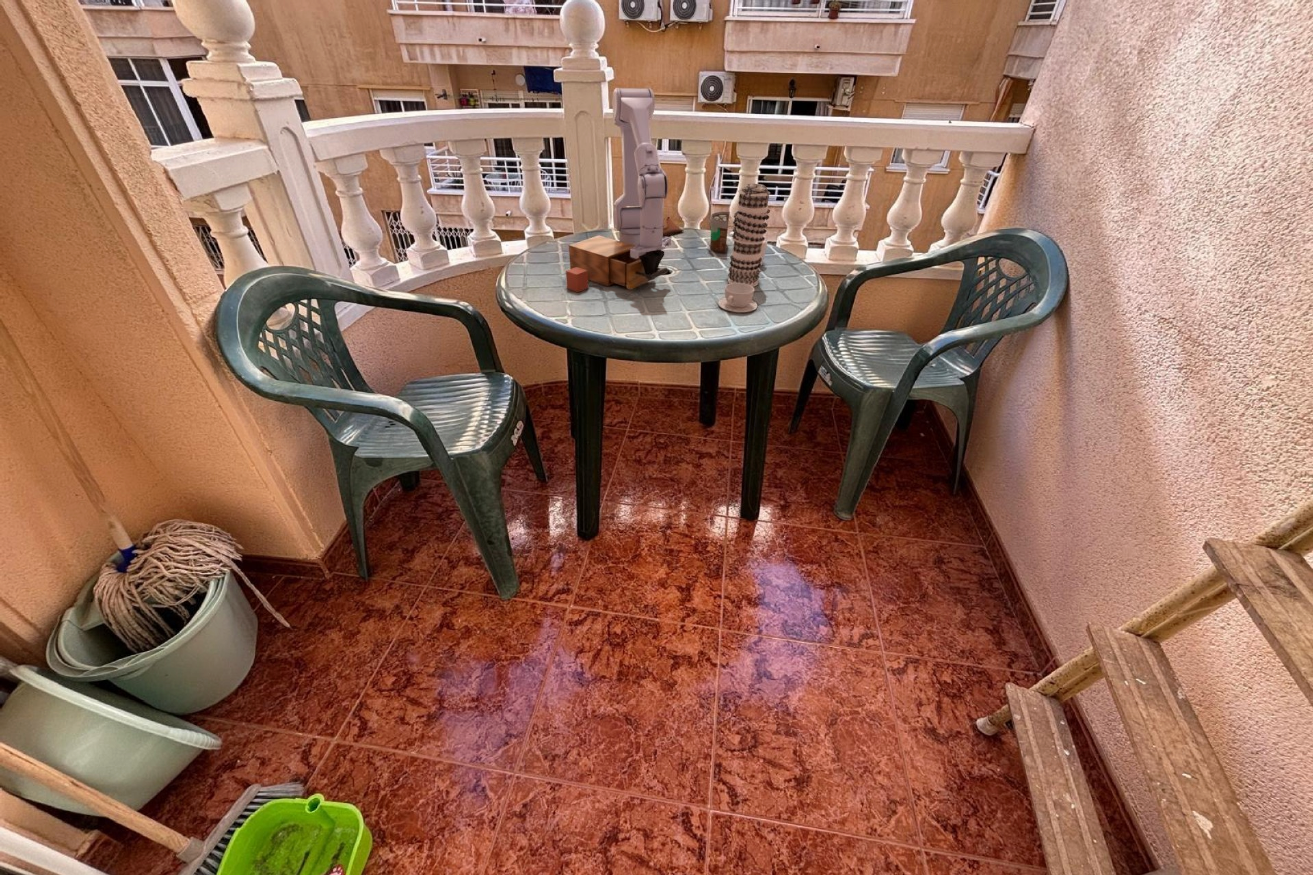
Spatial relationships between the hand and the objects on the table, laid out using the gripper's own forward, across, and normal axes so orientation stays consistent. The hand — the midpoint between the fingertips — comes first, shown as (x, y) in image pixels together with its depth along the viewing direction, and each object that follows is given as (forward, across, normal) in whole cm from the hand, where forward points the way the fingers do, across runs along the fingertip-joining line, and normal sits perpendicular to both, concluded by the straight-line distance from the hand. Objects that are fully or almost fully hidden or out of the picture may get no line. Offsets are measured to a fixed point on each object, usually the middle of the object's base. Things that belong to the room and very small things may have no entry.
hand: (650, 278), depth 142 cm
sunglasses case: (+3, +41, +28) cm, 50 cm away
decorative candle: (+3, +22, -16) cm, 27 cm away
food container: (+3, +42, +6) cm, 42 cm away
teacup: (+3, +6, -24) cm, 25 cm away
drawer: (+2, 0, +6) cm, 7 cm away
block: (+3, -12, +15) cm, 20 cm away
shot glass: (+3, +37, -11) cm, 38 cm away
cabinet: (+3, 0, +17) cm, 17 cm away
